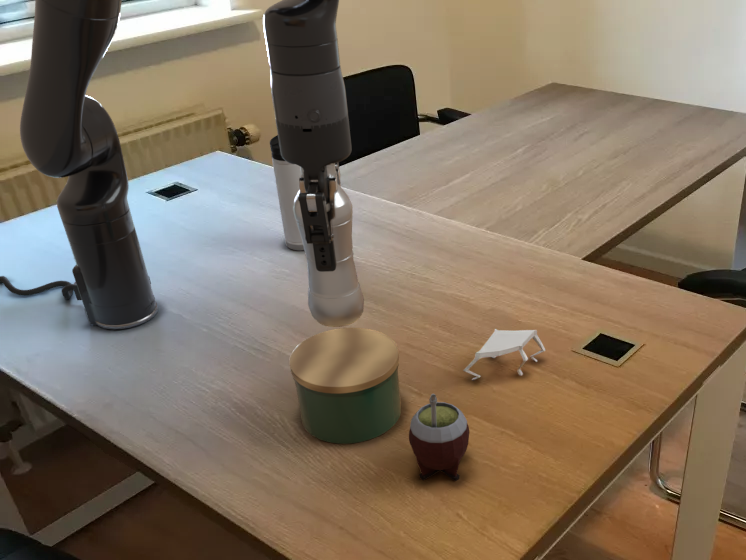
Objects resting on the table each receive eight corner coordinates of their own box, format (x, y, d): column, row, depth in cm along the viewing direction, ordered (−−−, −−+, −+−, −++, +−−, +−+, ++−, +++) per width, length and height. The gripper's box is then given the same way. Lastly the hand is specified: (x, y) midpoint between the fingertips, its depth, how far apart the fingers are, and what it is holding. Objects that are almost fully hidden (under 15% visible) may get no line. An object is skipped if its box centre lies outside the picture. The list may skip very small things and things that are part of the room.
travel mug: (328, 240, 149) (315, 133, 138) (303, 253, 145) (287, 144, 133) (304, 232, 152) (288, 127, 141) (278, 245, 148) (260, 137, 136)
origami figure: (502, 342, 121) (502, 314, 118) (547, 361, 116) (549, 332, 114) (449, 378, 113) (448, 348, 110) (496, 400, 109) (495, 370, 106)
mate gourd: (444, 441, 102) (439, 340, 93) (486, 471, 97) (485, 368, 88) (397, 467, 97) (387, 365, 89) (438, 501, 93) (432, 396, 84)
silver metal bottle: (355, 336, 95) (336, 174, 84) (302, 330, 97) (275, 169, 85) (373, 309, 101) (357, 153, 89) (322, 304, 102) (300, 149, 90)
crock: (291, 446, 101) (280, 388, 95) (307, 383, 112) (298, 328, 107) (400, 443, 101) (395, 385, 96) (405, 381, 112) (401, 326, 107)
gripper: (286, 92, 90) (306, 231, 99) (261, 134, 78) (287, 287, 88) (354, 91, 90) (367, 230, 100) (339, 133, 78) (356, 285, 88)
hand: (330, 256), depth 94 cm, fingers closed on silver metal bottle, 6 cm apart
